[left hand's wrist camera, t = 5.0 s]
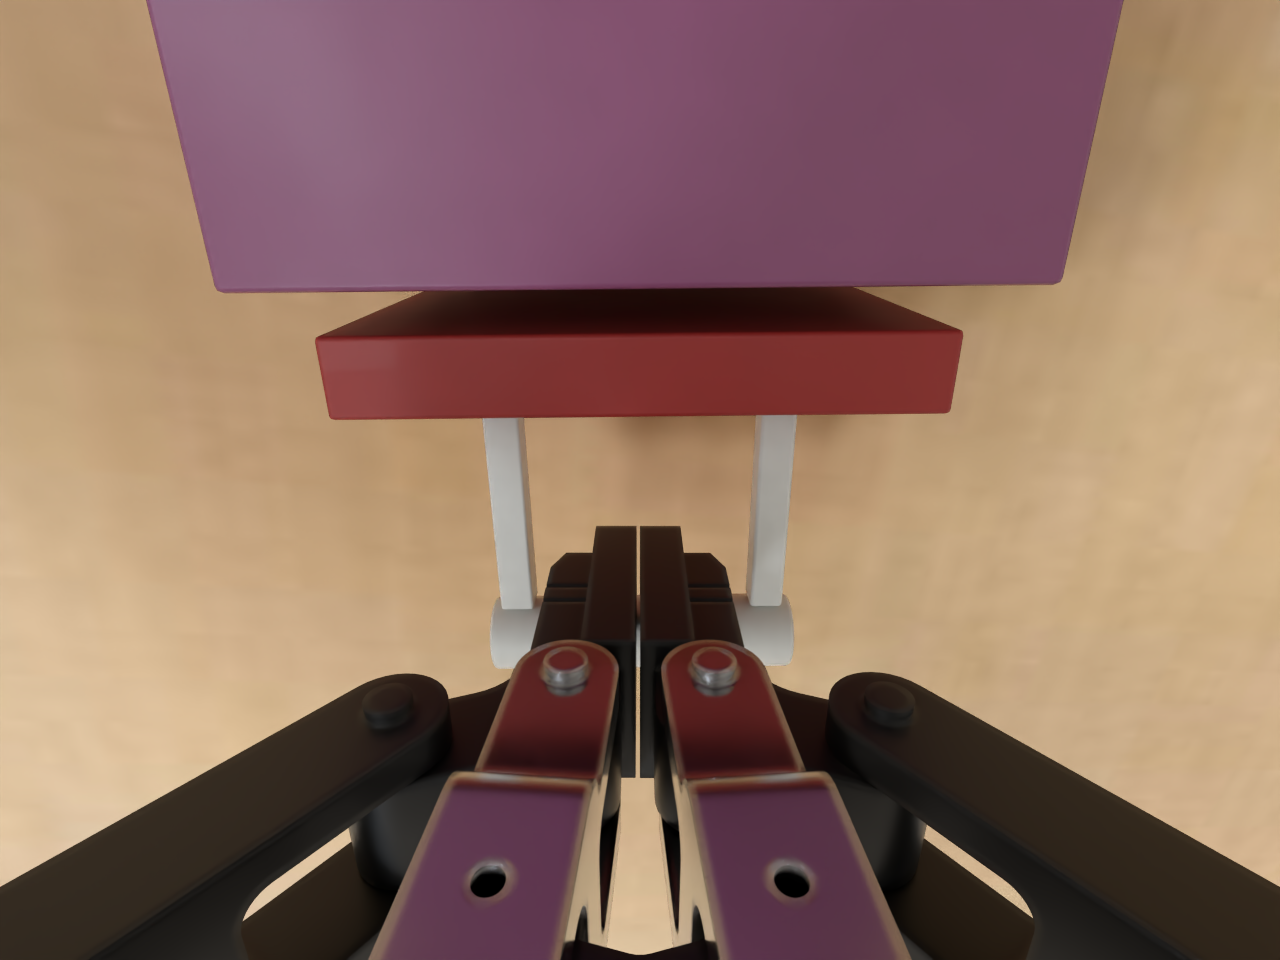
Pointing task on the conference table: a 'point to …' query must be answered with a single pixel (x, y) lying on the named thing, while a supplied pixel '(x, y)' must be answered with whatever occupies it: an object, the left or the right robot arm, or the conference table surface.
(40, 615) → the conference table surface
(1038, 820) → the left robot arm
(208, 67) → the cabinet
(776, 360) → the drawer
